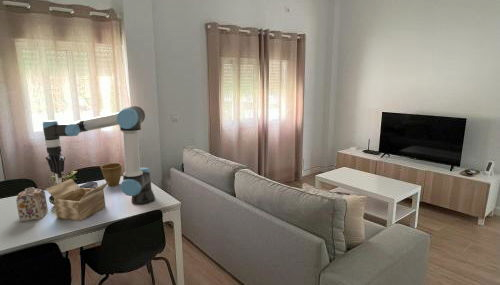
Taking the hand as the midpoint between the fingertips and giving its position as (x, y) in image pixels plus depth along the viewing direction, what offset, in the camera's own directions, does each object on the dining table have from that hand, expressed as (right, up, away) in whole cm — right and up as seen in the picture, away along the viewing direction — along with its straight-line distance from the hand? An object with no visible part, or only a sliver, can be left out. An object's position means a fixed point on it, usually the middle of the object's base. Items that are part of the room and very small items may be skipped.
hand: (59, 182), depth 190 cm
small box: (+7, -14, +23) cm, 28 cm away
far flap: (+3, -3, 0) cm, 4 cm away
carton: (+14, -19, 0) cm, 23 cm away
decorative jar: (-13, -20, -4) cm, 24 cm away
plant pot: (+12, -9, +49) cm, 51 cm away
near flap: (+25, -4, -6) cm, 26 cm away
